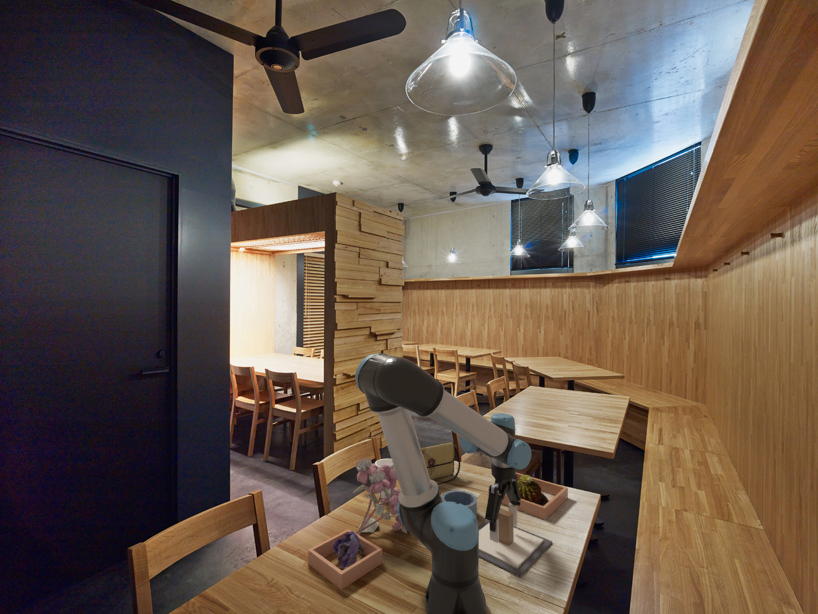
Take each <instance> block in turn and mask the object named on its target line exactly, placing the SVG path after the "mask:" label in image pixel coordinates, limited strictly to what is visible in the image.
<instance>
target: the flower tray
mask: <svg viewBox="0 0 818 614" xmlns="http://www.w3.org/2000/svg"><path fill="white" fill-rule="evenodd" d="M351 531H352V530H351V529H349V528H348V529H345V530H343V531H342V532H340V533H338V534H336V535H333V536H332V537H330V538H327V540H324V541H323V542H320V543H318V544H317V545H314V546H313V547H311V548H309V549H307V564H308V565H309V566H310V567H312V568H313V569H314V570H315V571H316V572H318V573H319V574H321V575H322V576H323V577H324V578H325V579H326V580H328V581H330V582H331V583H332V584H334V586H336V587H337V588H338V589H340V590H343V589H345V588H347V587H348V586H349V585H351V584H353V583H354V582H355V581H357V580H359V579H360V578H361V577H364V576H365V575H366V574H367V573H370V572H371V571H373V570H374V569H375V568H377V567H379V566H380V565H382V564H383V548H381V547H380V546H378V545H376V544H375V543H373V542H372V541H370V540H368V539H366V538H364V537H363V536H361V535H359V534H356V533H355V532H354V533H355V534H356V535H357V536H358V537H359V540H360V544H361V545H362V547H363V549H364V551H363V555H364V556H365V557H362V558H361V559H359V560H358V561H356V562H355V563H354V564H353V565H351V566H349V567H348V568H346V569H341V568H340V567H337V566H336V565H335V564H333V563H332V562H330V561H329V560H328V559H326V558H325V557H327V556H329V555H331V554H333V553H335V552H334V551H333V550H334V548H333V545H334V543H335V542H336V541H338V539H342V538H345V536H344V535H343V534H349V532H351ZM349 536H350V535H349ZM349 538H350V537H349ZM358 552H360V550H359V549H358Z"/></svg>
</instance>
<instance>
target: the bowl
mask: <svg viewBox="0 0 818 614" xmlns="http://www.w3.org/2000/svg"><path fill="white" fill-rule="evenodd" d="M441 498H442V500H443V502H456V504H459V503H460V504H462V505H465V506H466V507H468V508H469V509H470V510H471V511H472V512H473V513H474V514H475V516H476V518H478V497H477V496H476V495H475V494H474V493H471V492H469V491H466V490H459V489H458V490H457V489H454V490H447V491H446V492H444V493H442V494H441Z"/></svg>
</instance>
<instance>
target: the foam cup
mask: <svg viewBox="0 0 818 614" xmlns="http://www.w3.org/2000/svg"><path fill="white" fill-rule="evenodd" d="M374 464H375V465H376V466H377V467H378V469H377V471H379V470H384V469H380V467H381V466H382V465H389V466H391V465H393V462H392V459H391V458H381V459H377V460H376V461H375V462H374ZM393 468H394V467H393ZM384 480H386V479H384ZM389 490H390V491H391V489H389ZM377 494H378V497H379V498H380V493H377ZM383 498H387V497H386V496H385V492H384V491H382V492H381V499H383Z"/></svg>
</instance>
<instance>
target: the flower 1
mask: <svg viewBox="0 0 818 614" xmlns="http://www.w3.org/2000/svg"><path fill="white" fill-rule="evenodd" d="M343 535H344V536H345V538H342V539H338V541H336V542H335V543H334V545H333V548H334V550H333V551H334V552H333V553H335V554H336V555H337V557H338V558H337V562H339V563H340V565H339V569H343V570H345V569H346V568H348V567H349V566H351V565H353V564H354V563H356V562H357V559H358V552H360V555H364V554H363V551H364V549H363V547H362V545H361V544H360V540H359V537H358V536H357V535H356V534H355V531H353V530H351V532H349V534H343ZM349 535H350V536H349ZM349 537H350V538H349ZM358 549H359V550H360V551H358Z"/></svg>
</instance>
